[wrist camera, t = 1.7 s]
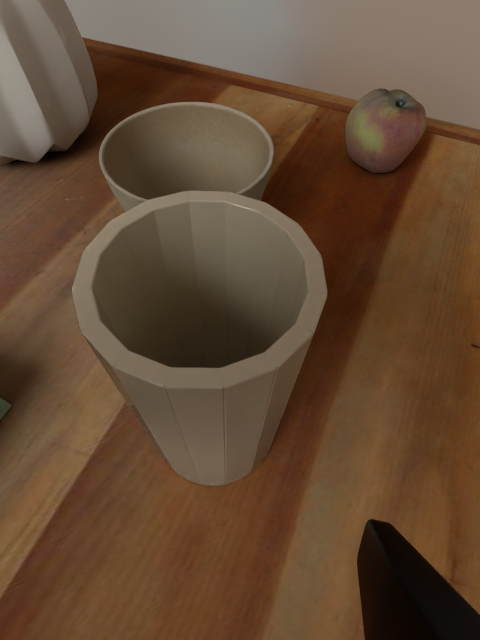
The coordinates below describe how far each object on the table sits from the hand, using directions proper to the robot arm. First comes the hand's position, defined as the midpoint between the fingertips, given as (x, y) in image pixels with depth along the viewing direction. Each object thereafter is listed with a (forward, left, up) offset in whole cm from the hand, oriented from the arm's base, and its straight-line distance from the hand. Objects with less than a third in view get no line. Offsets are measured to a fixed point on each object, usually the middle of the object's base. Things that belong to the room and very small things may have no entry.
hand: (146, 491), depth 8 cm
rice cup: (+5, +1, -11) cm, 13 cm away
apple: (+31, -2, -12) cm, 33 cm away
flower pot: (+17, +8, -12) cm, 22 cm away
